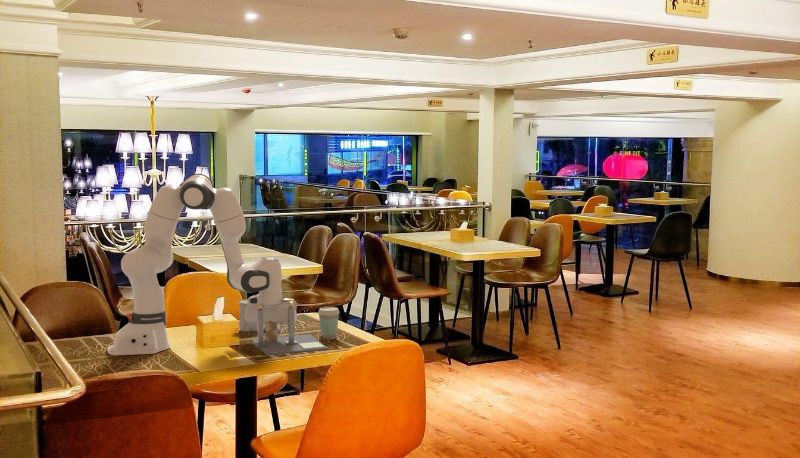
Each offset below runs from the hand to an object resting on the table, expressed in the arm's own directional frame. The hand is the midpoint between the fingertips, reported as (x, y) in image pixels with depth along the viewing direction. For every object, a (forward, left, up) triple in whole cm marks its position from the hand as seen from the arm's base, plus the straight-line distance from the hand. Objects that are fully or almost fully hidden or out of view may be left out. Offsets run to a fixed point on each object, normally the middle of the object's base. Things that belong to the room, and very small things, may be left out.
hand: (271, 333), depth 325 cm
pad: (+12, -15, -4) cm, 20 cm away
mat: (+5, -8, -4) cm, 10 cm away
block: (0, 0, -3) cm, 3 cm away
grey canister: (-3, +23, -4) cm, 24 cm away
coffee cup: (+23, -2, -4) cm, 23 cm away
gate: (0, -8, -4) cm, 9 cm away
